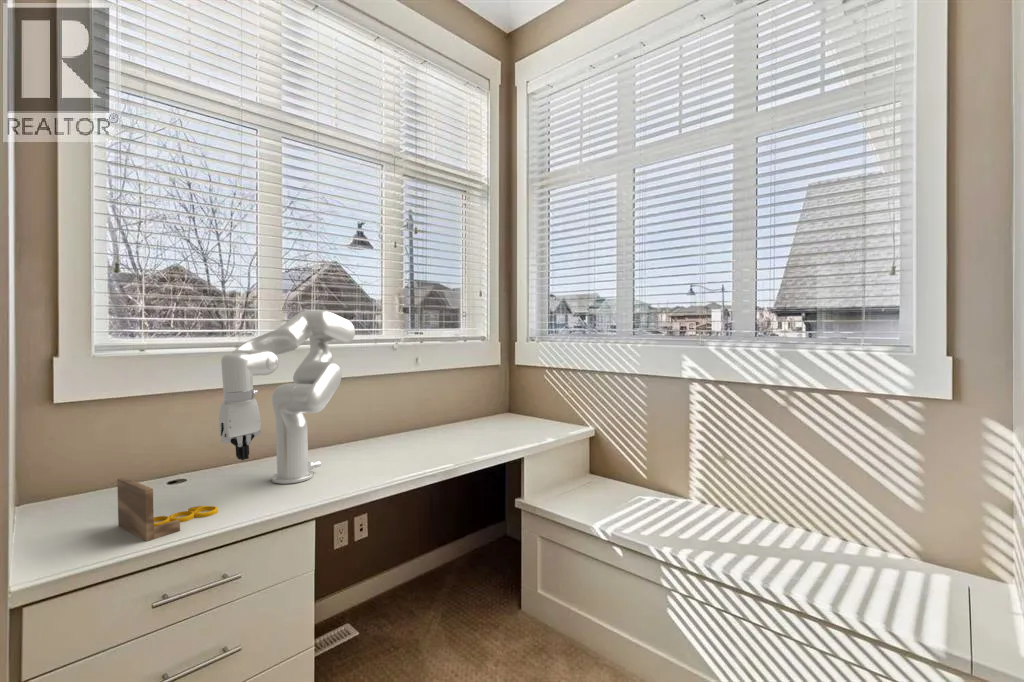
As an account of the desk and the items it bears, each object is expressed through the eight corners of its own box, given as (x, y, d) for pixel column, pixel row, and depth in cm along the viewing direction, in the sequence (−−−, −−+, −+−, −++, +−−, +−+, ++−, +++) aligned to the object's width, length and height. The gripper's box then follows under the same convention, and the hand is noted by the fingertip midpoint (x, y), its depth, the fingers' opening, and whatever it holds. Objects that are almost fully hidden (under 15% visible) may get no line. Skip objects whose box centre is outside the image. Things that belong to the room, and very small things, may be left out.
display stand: (150, 517, 128) (149, 472, 128) (180, 530, 119) (179, 482, 119) (118, 526, 122) (117, 479, 122) (146, 541, 113) (145, 490, 113)
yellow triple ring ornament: (221, 517, 129) (214, 507, 136) (221, 511, 128) (214, 501, 136) (143, 535, 118) (140, 523, 125) (143, 528, 118) (140, 517, 125)
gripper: (257, 391, 147) (260, 449, 149) (204, 399, 135) (209, 464, 136) (271, 393, 143) (274, 453, 145) (218, 402, 131) (223, 468, 132)
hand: (243, 458), depth 140 cm, fingers closed
